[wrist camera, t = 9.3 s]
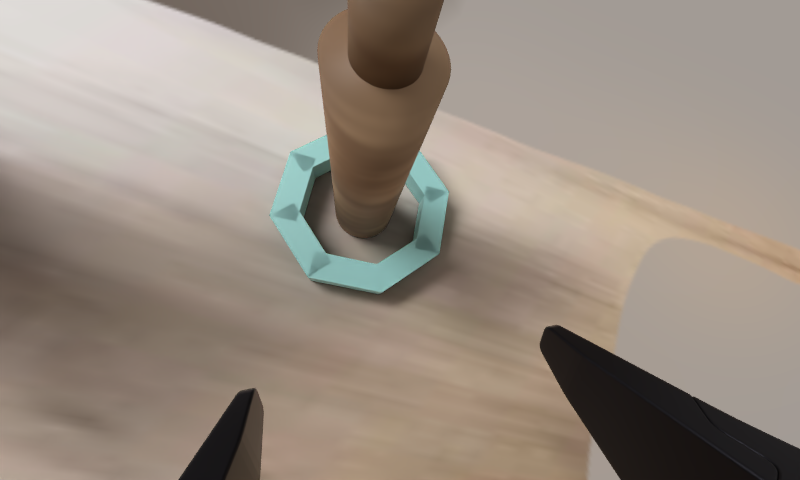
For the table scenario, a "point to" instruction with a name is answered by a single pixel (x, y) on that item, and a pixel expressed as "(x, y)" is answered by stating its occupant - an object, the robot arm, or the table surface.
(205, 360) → the table surface
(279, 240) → the table surface
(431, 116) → the brown peg
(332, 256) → the teal faceted ring
